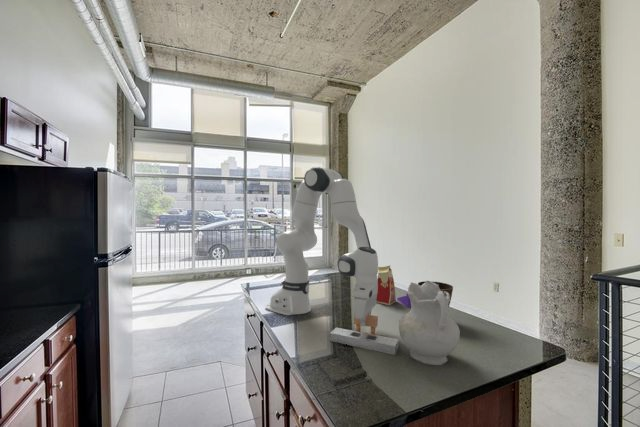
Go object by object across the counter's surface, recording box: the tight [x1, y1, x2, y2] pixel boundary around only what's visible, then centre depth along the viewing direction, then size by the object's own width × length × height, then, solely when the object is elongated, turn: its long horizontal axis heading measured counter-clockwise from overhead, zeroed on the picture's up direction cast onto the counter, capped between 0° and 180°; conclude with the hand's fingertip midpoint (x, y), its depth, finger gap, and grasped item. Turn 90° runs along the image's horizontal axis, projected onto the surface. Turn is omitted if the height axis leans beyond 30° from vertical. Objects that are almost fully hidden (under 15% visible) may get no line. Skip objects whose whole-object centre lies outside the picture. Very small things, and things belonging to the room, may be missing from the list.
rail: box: [329, 327, 399, 356], centre depth 110 cm, size 24×6×3 cm, turn 66°
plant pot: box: [417, 280, 454, 308], centre depth 135 cm, size 15×15×16 cm
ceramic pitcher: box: [398, 280, 461, 366], centre depth 100 cm, size 22×20×25 cm
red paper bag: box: [376, 265, 397, 306], centre depth 161 cm, size 9×9×20 cm
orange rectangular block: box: [353, 314, 379, 335], centre depth 119 cm, size 9×3×7 cm, turn 66°
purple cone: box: [396, 292, 411, 308], centre depth 160 cm, size 12×7×7 cm, turn 13°
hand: (365, 322), depth 120 cm, fingers open, 5 cm apart
